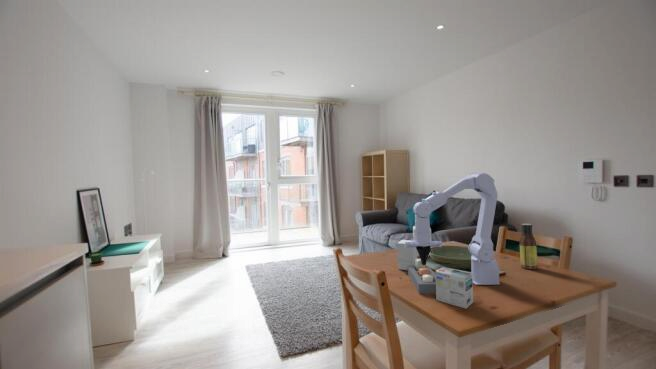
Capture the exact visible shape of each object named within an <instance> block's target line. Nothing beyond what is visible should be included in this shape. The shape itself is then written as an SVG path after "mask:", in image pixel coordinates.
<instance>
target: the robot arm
mask: <svg viewBox="0 0 656 369" xmlns="http://www.w3.org/2000/svg"><path fill="white" fill-rule="evenodd" d="M468 189H469V190H474V191H475V192H477V194H478V195H479V196H481V199H480V200H481V201H480V206H479V214H478V218H477V225H476V229H475V230H476V231H475V235H473V237H472V238H471V242H470V243H469V245H468V247H467V248H468V252H469V254H470V255H471V256H470V261H471V262H470V264H471V267H470V268H471V269H470V270H471V271H470V272H472V277H473V285H476V286H483V285H484V286H486V285H490V286H492V285H501V283H500V267H499V263H498V262H497V260H496V259H494V257H495V252H494V243H493V241H492V230H493V226H494V218H495V212H496V206H497V201H498V196H499V195H498V194H499V193H498V190H497V189H496V185H495V179H494V178H493V177H492V176H491V175H490V174H488V173H485V172H484V173H483V172H481V173H479V172H472V173H470V174H468V175H466V176H464V177H462V178H461V179H459V180H458V181H456V182H455V183H454V184H452V185H451V186H449V187H447V188H446V189H445V190H443V191H433V192H431V195H429V196H428V197H426V198H422V199H421V201H418V202H416V203H415V204H414V205H413V208H412V212H413V213H414V226H415V237H416V241H414V240H411V241H412V242H405V248H408V247H416V249H417V251H418V253H419V256H420V257H419V259H421V264H422V265H425V266H427V263H428V262H427V261H428V258H429V257H428V255H429V253H430V252H431V248H430V247H432V248H433V247H434V248H436V247H439V248H442V247H443V242H442V241H441V240H432V241H430V228H431V226H430V225H431V223H430V222H431V221H430V216H431V215H432V212H434V211H436V210H437V209H440V207H442V206H444V205H445V204H447V200H449V198H451V197H453V196H454V195H458V193H460V192H462V191H464V190H468Z"/></svg>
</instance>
